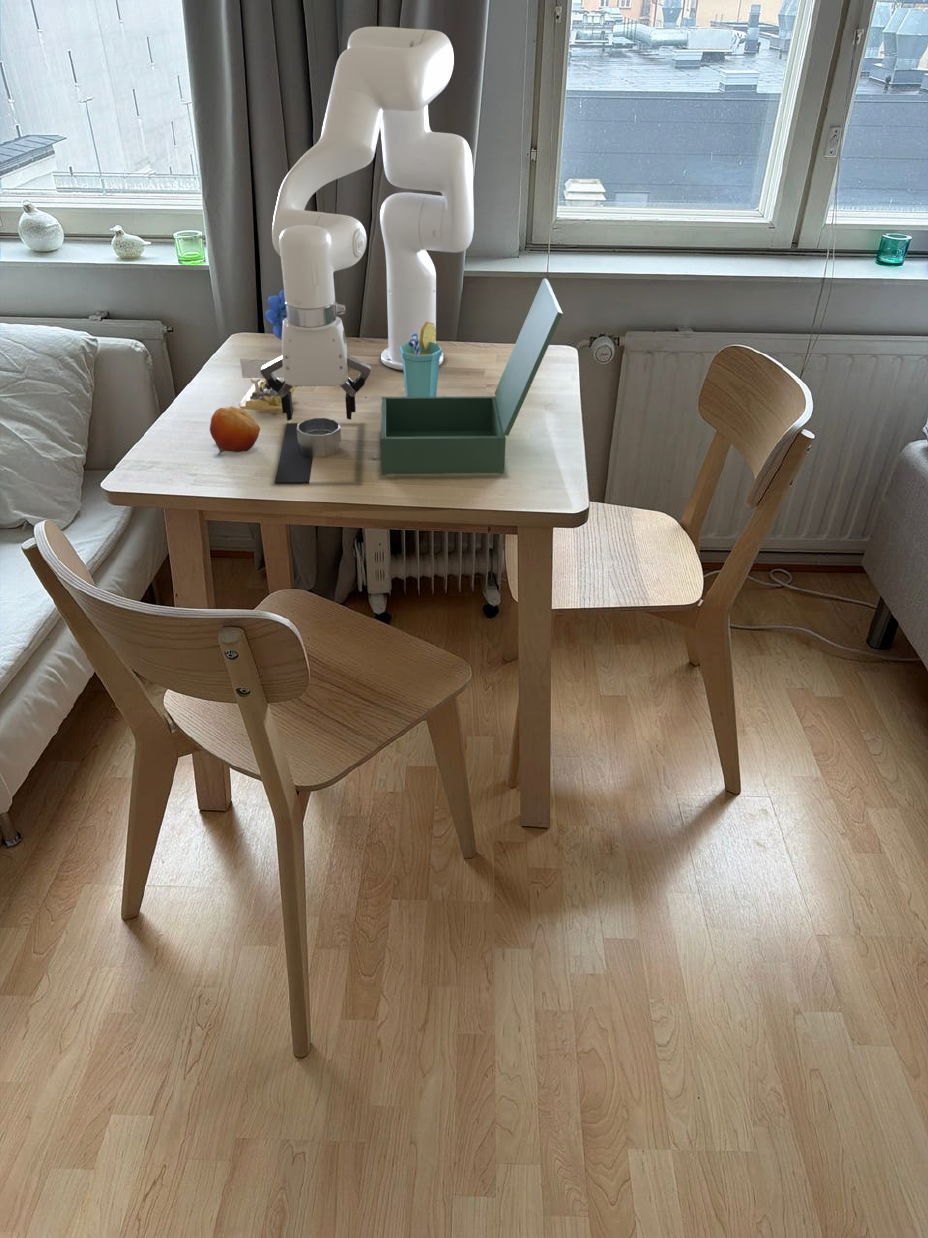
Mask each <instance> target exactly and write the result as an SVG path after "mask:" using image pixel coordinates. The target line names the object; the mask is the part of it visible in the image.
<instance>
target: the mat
mask: <svg viewBox="0 0 928 1238" xmlns="http://www.w3.org/2000/svg"><path fill="white" fill-rule="evenodd" d="M299 423H300V422H287V423H286V426H285V431H284V436H283V440H282V444H281V449H280V454H279V458H278V459H279V460H278V463H277V468H276V473H275V478H274V485H310V481H311V474H312V468H313V460H314V458H313V459H310V458H307V457H304V456H303V455H302V453H301V451H300V444H299V443H298V439H297V424H299Z"/></svg>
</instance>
